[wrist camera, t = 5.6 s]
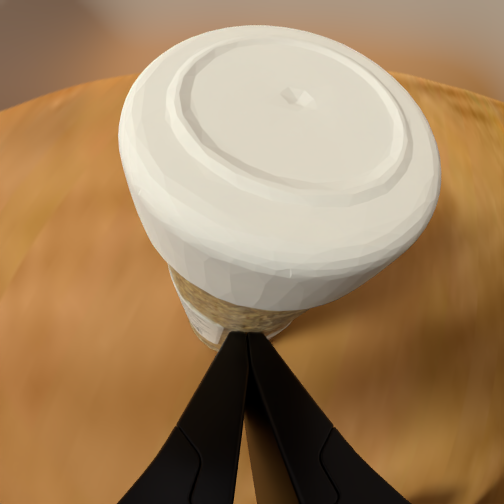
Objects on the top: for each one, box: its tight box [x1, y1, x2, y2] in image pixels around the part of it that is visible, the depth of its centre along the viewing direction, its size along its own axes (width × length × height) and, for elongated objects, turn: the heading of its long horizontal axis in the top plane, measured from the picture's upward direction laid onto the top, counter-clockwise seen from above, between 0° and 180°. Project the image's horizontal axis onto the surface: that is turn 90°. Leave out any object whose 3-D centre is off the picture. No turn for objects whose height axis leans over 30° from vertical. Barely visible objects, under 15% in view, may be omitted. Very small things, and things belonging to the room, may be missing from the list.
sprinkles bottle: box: [118, 25, 441, 351], centre depth 10 cm, size 5×5×13 cm
